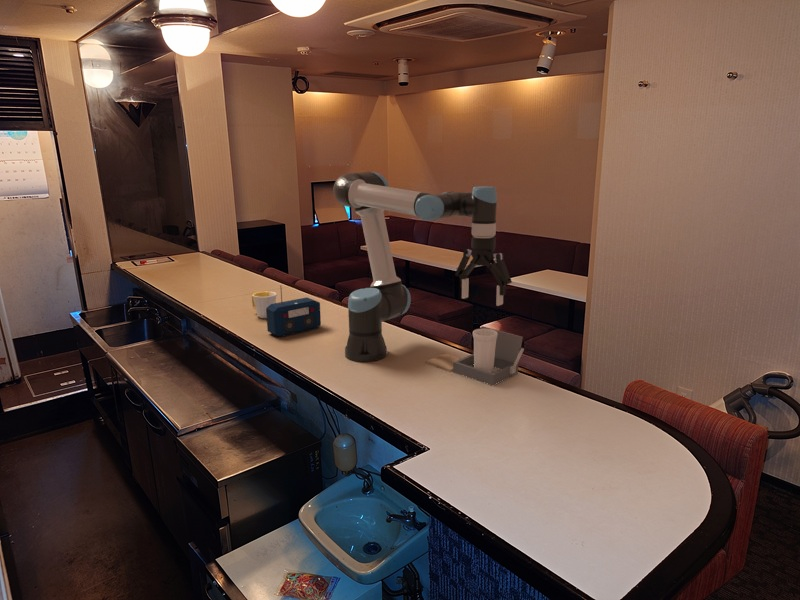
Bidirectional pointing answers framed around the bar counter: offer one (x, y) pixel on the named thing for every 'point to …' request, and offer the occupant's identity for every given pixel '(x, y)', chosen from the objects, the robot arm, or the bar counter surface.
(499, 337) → the grey caddy tray
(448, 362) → the trivet
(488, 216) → the robot arm
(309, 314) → the radio
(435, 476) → the bar counter surface
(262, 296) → the mug
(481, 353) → the cup
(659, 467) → the bar counter surface
